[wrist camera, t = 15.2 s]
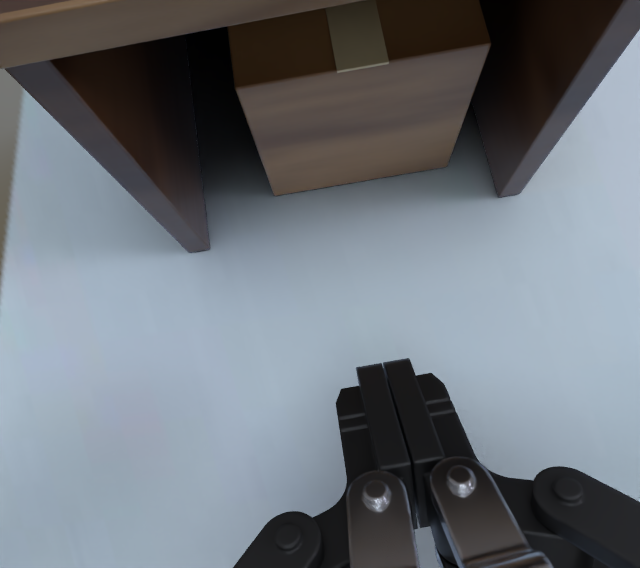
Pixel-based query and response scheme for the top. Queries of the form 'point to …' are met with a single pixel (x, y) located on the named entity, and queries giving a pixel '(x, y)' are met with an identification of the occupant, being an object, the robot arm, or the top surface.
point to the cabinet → (263, 3)
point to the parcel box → (358, 88)
